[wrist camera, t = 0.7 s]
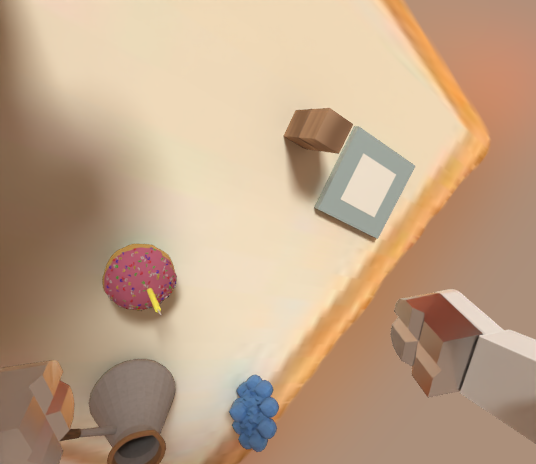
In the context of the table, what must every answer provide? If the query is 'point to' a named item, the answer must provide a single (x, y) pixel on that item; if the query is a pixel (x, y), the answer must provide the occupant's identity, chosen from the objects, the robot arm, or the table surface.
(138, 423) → the coffee pot
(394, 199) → the plate
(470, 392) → the robot arm
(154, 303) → the cupcake
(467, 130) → the table surface
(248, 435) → the grapes
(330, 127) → the walnut block
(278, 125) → the table surface
